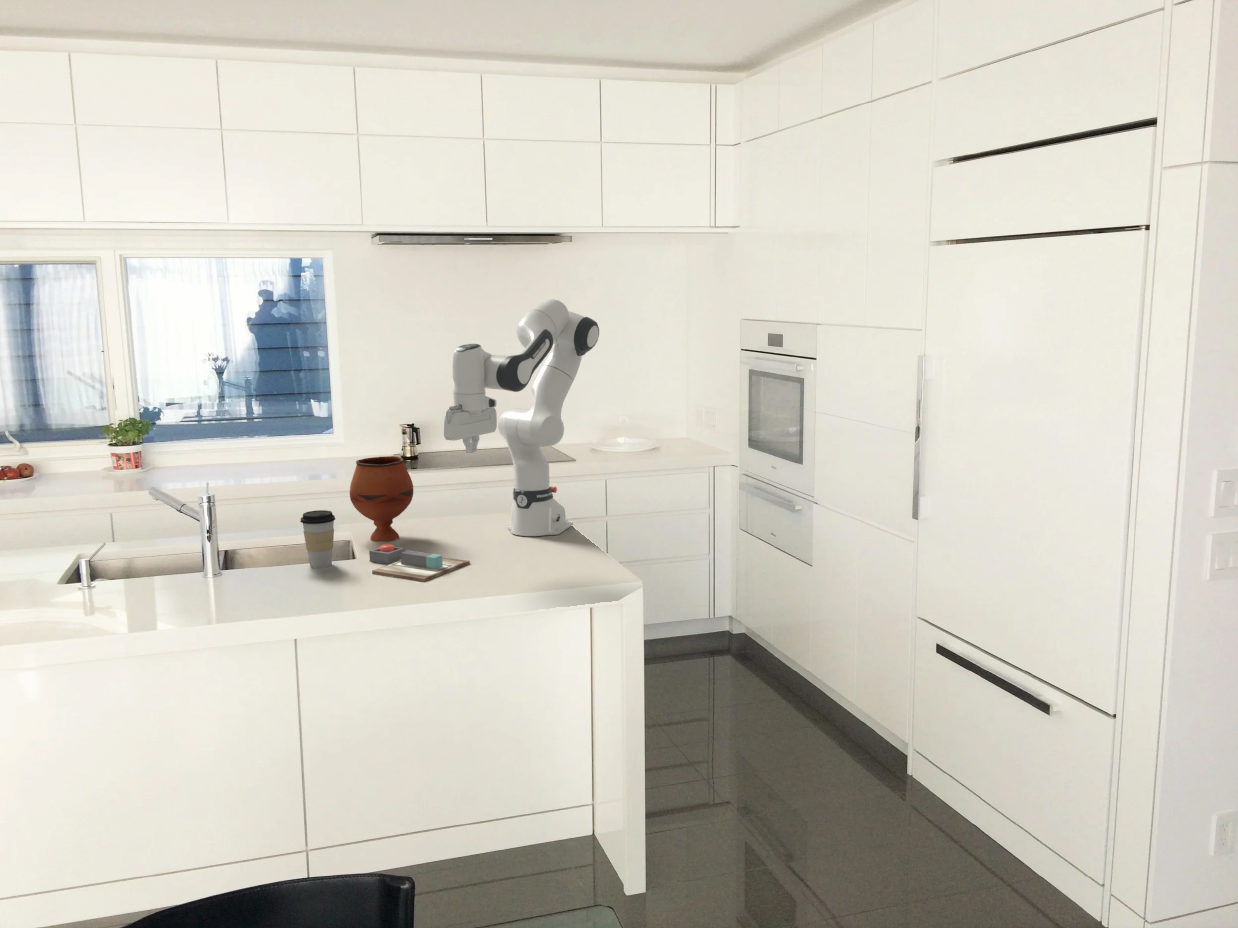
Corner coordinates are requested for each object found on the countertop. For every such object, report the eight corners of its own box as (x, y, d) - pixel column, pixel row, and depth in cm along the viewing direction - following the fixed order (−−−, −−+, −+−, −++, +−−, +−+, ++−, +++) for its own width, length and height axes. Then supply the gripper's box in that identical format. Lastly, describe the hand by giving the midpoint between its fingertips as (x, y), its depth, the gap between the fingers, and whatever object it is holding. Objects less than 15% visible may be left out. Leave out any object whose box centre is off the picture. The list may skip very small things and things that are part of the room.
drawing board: (419, 556, 292) (419, 553, 292) (469, 563, 284) (469, 560, 283) (372, 573, 275) (372, 570, 275) (424, 581, 266) (423, 578, 266)
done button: (386, 552, 291) (386, 543, 291) (397, 554, 289) (396, 545, 289) (377, 555, 288) (376, 546, 287) (387, 557, 286) (387, 548, 286)
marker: (401, 564, 281) (400, 552, 280) (408, 561, 283) (408, 550, 283) (435, 569, 275) (434, 557, 274) (442, 566, 278) (442, 555, 277)
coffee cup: (325, 570, 278) (321, 517, 275) (296, 568, 281) (292, 515, 278) (344, 562, 287) (341, 510, 284) (316, 559, 290) (313, 508, 287)
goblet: (341, 544, 307) (336, 464, 302) (370, 530, 325) (365, 453, 321) (399, 547, 302) (395, 465, 298) (425, 532, 321) (421, 455, 317)
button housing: (386, 555, 294) (385, 545, 293) (405, 558, 290) (404, 548, 290) (369, 561, 287) (369, 550, 287) (388, 563, 284) (388, 553, 284)
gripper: (455, 407, 269) (457, 458, 272) (500, 400, 287) (501, 448, 289) (437, 406, 272) (439, 457, 275) (482, 399, 290) (483, 446, 292)
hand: (471, 452), depth 282 cm, fingers closed
